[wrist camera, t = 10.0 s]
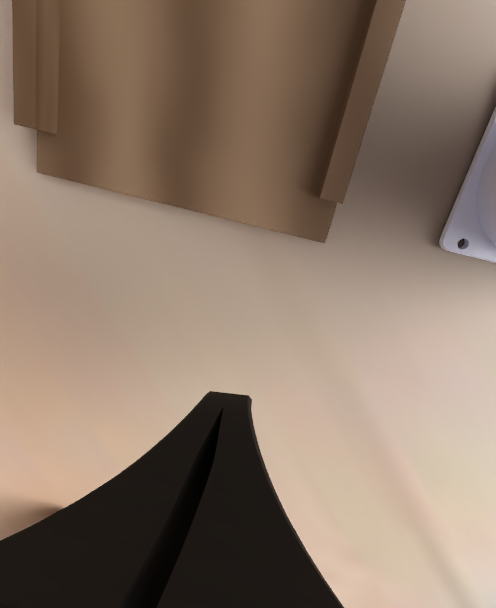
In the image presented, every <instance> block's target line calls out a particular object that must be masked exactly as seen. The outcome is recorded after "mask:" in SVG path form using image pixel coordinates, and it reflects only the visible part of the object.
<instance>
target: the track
mask: <svg viewBox="0 0 496 608" xmlns="http://www.w3.org/2000/svg"><path fill="white" fill-rule="evenodd" d="M405 1H406V0H12V7H13V82H14V124H16V125H20V126H24V127H29V128H33V129H37V172H38V173H42V174H46V175H50V176H54V177H58V178H62V179H66V180H70V181H74V182H78V183H82V184H86V185H90V186H94V187H99V188H103V189H107V190H111V191H115V192H119V193H123V194H127V195H131V196H135V197H139V198H143V199H147V200H151V201H155V202H159V203H163V204H168V205H172V206H176V207H180V208H184V209H188V210H192V211H196V212H200V213H204V214H208V215H212V216H216V217H220V218H224V219H228V220H232V221H236V222H241V223H245V224H249V225H253V226H257V227H261V228H265V229H269V230H273V231H277V232H281V233H285V234H289V235H293V236H297V237H301V238H305V239H310V240H314V241H318V242H322V243H325V241H326V238H327V234H328V231H329V228H330V225H331V221H332V218H333V215H334V212H335V208H336V205H337V203H341V204H342V203H343V200H344V196H345V193H346V190H347V187H348V184H349V180H350V177H351V174H352V171H353V168H354V164H355V161H356V158H357V155H358V152H359V148H360V145H361V142H362V139H363V136H364V132H365V129H366V126H367V123H368V120H369V116H370V113H371V110H372V107H373V104H374V100H375V97H376V94H377V91H378V88H379V84H380V81H381V78H382V75H383V72H384V68H385V65H386V62H387V59H388V56H389V52H390V49H391V46H392V43H393V40H394V36H395V33H396V30H397V27H398V24H399V20H400V17H401V14H402V11H403V8H404V4H405Z"/></svg>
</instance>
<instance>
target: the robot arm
mask: <svg viewBox="0 0 496 608" xmlns="http://www.w3.org/2000/svg"><path fill="white" fill-rule="evenodd" d="M461 239H464V240H465V244H464V246H463V247H461V248H458V246H457V244H458V242H459V240H461ZM439 244H440V246H441V248H442V249H444V250H446V251H449V252H453V253H457V254H461V255H465V256H470V257H474V258H478V259H482V260H486V261H490V262H494V263H496V107H495V109H494V112H493V114H492V117H491V119H490V121H489V124H488V126H487V128H486V131H485V133H484V135H483V138H482V140H481V142H480V145H479V147H478V150H477V152H476V154H475V157H474V159H473V161H472V164H471V166H470V168H469V171H468V173H467V175H466V178H465V180H464V183H463V185H462V187H461V190H460V192H459V194H458V197H457V199H456V201H455V204H454V206H453V209H452V211H451V213H450V216H449V218H448V220H447V223H446V225H445V227H444V230H443V232H442V234H441V237H440V240H439ZM251 403H252V399H251V398H250V397H249V396H247V395H238V394H229V393H220V392H211V391H210V392H209V393H207V394H206V395H205V396H204V397H203V399H202V400H201V401H200V402H199V403H198V404H197V405H196V406H195V407H194V409H193V410H192V411H191V412H190V413H189V414H188V415H187V416H186V417H185V418H184V419H183V420H182V421H181V422H180V423H179V424H178V425H177V426H176V427H175V428H174V429H173V430H172V431H171V432H170V433H169V434H168V435H166V436H165V437H164V438H163V439H162V440H161V441H160V442H158V443H157V444H156V445H155V446H154V447H153V448H152V449H150V450H149V451H148V452H147V453H146V454H144V455H143V456H142V457H141V458H140V459H138V460H137V461H136V462H134V463H133V464H132V465H130V466H129V467H128V468H126V469H125V470H124V471H122V472H121V473H120V474H118V475H117V476H115V477H114V478H112V479H111V480H109V481H108V482H106V483H105V484H103V485H102V486H100V487H99V488H97V489H96V490H94V491H92V492H91V493H89V494H88V495H86V496H85V497H83V498H81V499H80V500H78V501H76V502H75V503H73V504H71V505H69V506H67V507H66V508H64V509H62V510H60V511H59V512H57V513H55V514H53V515H51V516H49V517H47V518H46V519H44V520H42V521H40V522H38V523H36V524H34V525H32V526H30V527H28V528H26V529H24V530H22V531H20V532H18V533H16V534H14V535H12V536H9V537H7V538H5V539H3V540H1V541H0V608H344V607H343V605H342V604H341V603H340V601H339V600H338V598H337V597H336V595H335V594H334V592H333V591H332V590H331V588H330V587H329V585H328V584H327V582H326V581H325V579H324V578H323V576H322V575H321V573H320V571H319V570H318V568H317V567H316V565H315V564H314V562H313V560H312V559H311V557H310V556H309V554H308V552H307V551H306V549H305V547H304V545H303V544H302V542H301V540H300V538H299V536H298V535H297V533H296V531H295V529H294V528H293V526H292V524H291V522H290V520H289V519H288V517H287V515H286V513H285V511H284V509H283V507H282V504H281V502H280V500H279V498H278V496H277V494H276V492H275V489H274V487H273V485H272V482H271V480H270V477H269V475H268V472H267V470H266V467H265V464H264V461H263V458H262V455H261V452H260V449H259V446H258V442H257V438H256V434H255V430H254V426H253V420H252V413H251Z"/></svg>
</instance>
